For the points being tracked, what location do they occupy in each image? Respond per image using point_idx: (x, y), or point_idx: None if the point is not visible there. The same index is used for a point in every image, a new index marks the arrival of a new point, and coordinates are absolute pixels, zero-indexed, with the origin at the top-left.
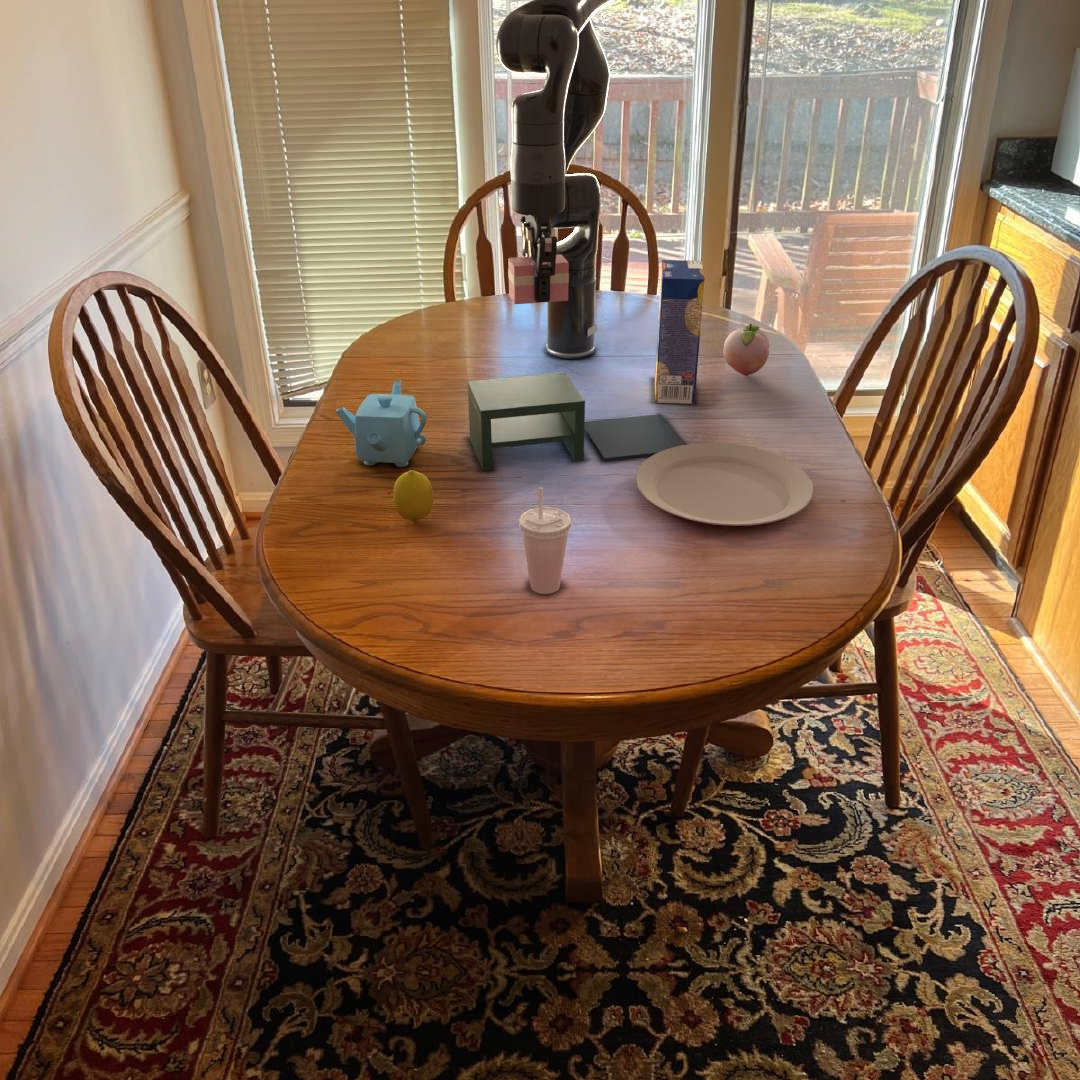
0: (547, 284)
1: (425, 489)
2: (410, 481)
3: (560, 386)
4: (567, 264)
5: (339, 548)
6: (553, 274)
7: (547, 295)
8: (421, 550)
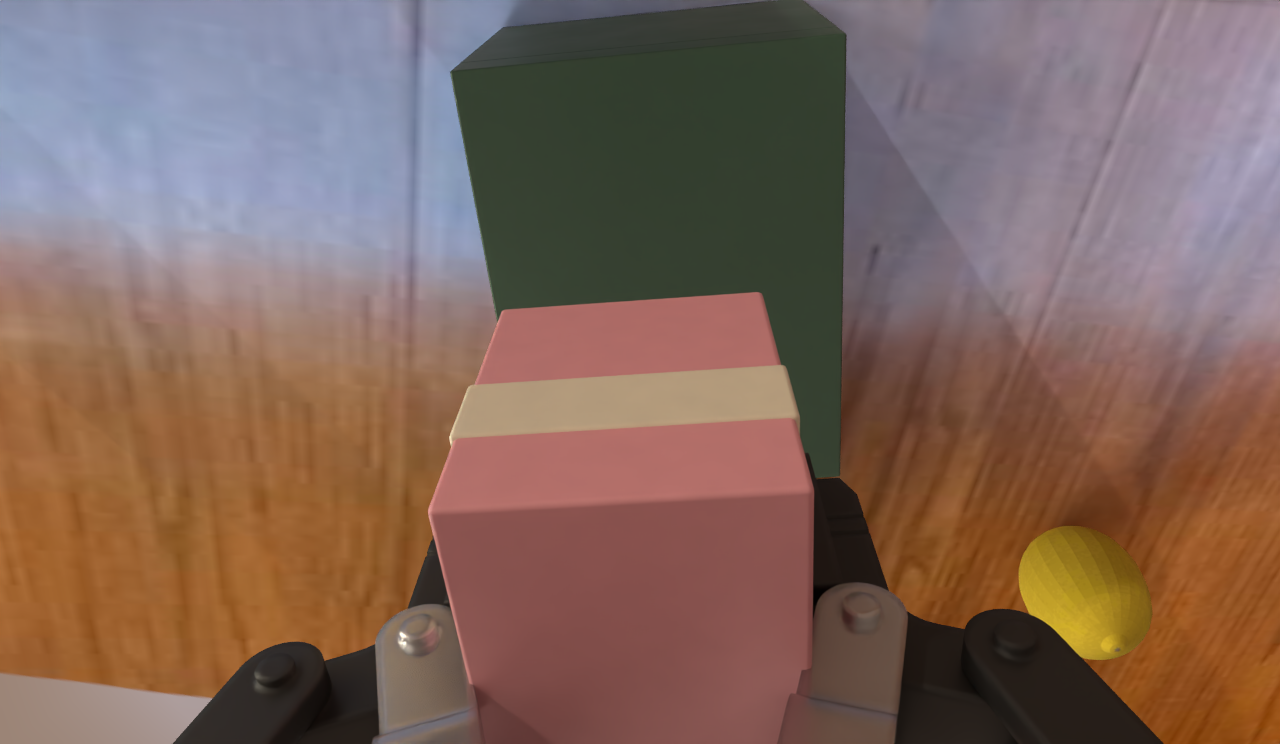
0: (879, 569)
1: (1143, 589)
2: (1140, 639)
3: (639, 128)
4: (810, 487)
5: (1110, 677)
6: (1043, 632)
7: (855, 504)
8: (1201, 530)
